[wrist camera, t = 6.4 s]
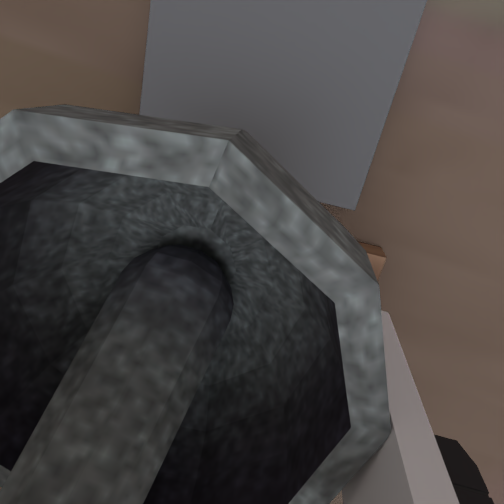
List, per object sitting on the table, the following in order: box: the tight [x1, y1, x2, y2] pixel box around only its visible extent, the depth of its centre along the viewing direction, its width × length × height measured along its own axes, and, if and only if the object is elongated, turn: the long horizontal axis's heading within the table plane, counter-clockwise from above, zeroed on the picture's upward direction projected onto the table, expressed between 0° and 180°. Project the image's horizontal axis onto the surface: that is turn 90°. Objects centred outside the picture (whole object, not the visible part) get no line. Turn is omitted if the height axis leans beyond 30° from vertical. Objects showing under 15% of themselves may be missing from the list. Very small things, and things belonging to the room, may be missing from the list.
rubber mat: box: [139, 0, 427, 211], centre depth 25 cm, size 14×16×1 cm
